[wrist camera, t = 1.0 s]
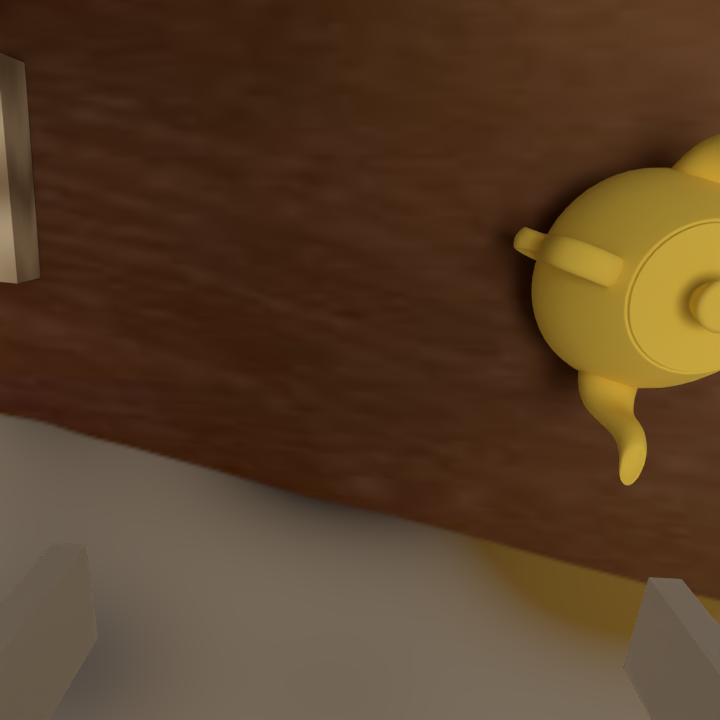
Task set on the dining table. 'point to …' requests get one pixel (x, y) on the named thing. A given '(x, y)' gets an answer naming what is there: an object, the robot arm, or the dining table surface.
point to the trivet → (16, 179)
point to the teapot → (633, 288)
